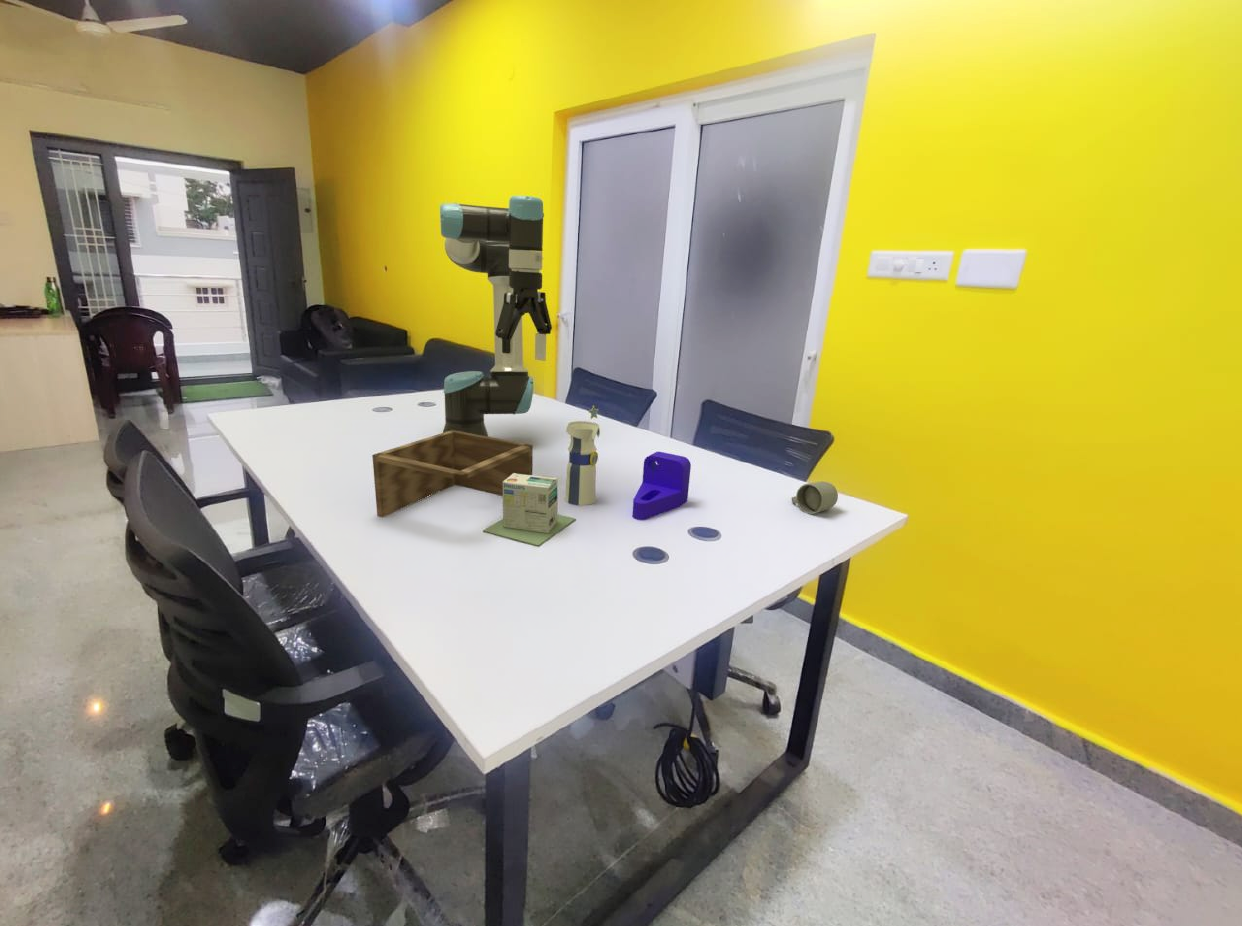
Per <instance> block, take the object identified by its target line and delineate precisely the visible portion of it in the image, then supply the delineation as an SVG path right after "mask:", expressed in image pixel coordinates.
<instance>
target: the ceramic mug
mask: <svg viewBox="0 0 1242 926" xmlns="http://www.w3.org/2000/svg"><path fill="white" fill-rule="evenodd" d="M838 499H839V494H838V491H837V489H836V487H835V485H833V484H832V483H830V482H828V481H815V482H811V483H804V484H803V485H801V486H800V487H798V489H797V491H796V496H792V497H791V504H797V506H798V508H799V509H800V510H801V511H802V512H803V513H805V514H808V515H815V514H817V513H821V512H824V511H827V510H829V509H831V508H833V507H834V506H835V505H836V504H837V503H838Z"/></svg>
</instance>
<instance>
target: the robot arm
mask: <svg viewBox="0 0 1242 926" xmlns="http://www.w3.org/2000/svg"><path fill="white" fill-rule="evenodd" d="M439 216H440V217H439V218H440V219H439V220H440V234H441V237H443V238H445V240H444V250H445V254H446V256H447V257H448V259H449V260H450V261H451V262H452V263H454V265H456V266H458V267H459V268H462V269H464V270H467V271H469V272H473V273H480V274H482V273H483V274H487V281H488V282H489V283H490V284H491V285H492V294H493V295H492V296H493V298H492V300H493V301H492V302H493V303H492V304H493V334H494V336H493V337H494V338H493V339H494V343H493V344H494V366H493V367H492V368H491V369H490V370H489V376H485V375H484V372H482V371H480V370H477V371H476V370H470V371H460V372H456V373H452V374H449V375H447V376H446V377H445V378H444V381H443V382H444V383H443V384H444V385H443V386H444V387H443V394H444V419H445V423H444V428H443V430H442V433H444V432H447V431H451V430H456V431H461V432H466V433H472V434H477V435H482V436H487V437H489V433H488V430H487V428H486V424H485V415H519V414H521V415H523V414H526V413H528V411H529V410H530V408H531V405H532V401H533V395H534V379H533V377H532V376H529V370H528V369H527V368H526V367H525V366H524V354H523V353H524V352H523V351H524V349H523V340H524V339H523V316H524V315H525V314H528V315H529V316H530V319H531V321H532V323H533V325H534V327H535V329H536V331H537V332H536V333H535V334H534V337H535V338H534V339H535V340H534V360H536V361H541V362H546V361H547V358H546V357H547V335H550V334H551V332H552V329H553V326H552V321H551V317H550V314H549V313H550V312H549V309H548V305H547V297H546V294H547V293H546V292H542V291H541V292H540V291H538V290H542V288H543V274H542V272H540V271H542V270H543V260H544V257H543V245H544V244H543V241H544V240H543V238H544V237H543V236H544V218H545V213H544V202H543V200H542V199H541V198H540V197H536V196H528V195H513V196H511V197H510V198H509V201H508V207H498V206H497V207H495V206H485V205H484V206H483V205H482V206H481V205H473V204H465V203H464V204H463V203H462V204H461V203H457V202H454V203H453V202H452V203H450V202H449V203H447V202H445V203H444V202H443V203H442V204H440V206H439Z"/></svg>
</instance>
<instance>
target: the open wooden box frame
mask: <svg viewBox="0 0 1242 926" xmlns="http://www.w3.org/2000/svg"><path fill="white" fill-rule="evenodd" d="M533 453H534V452H533V444H528V443H524V442H518V441H512V440H506V439H503V438H497V437H492V436H488V437H487V436H482V435H477V434H472V433H466V432H461V431H456V430H451V431H447V432H444V433H443V432H442V433H438V434H435V435H432V436H429V437H426V438H423V439H419V440H416V441H413V442H412V441H411V442H410V443H407V444H406V443H405V444H403V445H399V446H398V447H397V446H396V447H394V448H390V449H388V450H384V451H381V452H378V453H374V454H372V468H373V478H374V493H375V506H376V513H377V514H376V516H378V517H381V518H383V517H385V516H388V515H391V514H392V513H394V512H397V511H399V510H401V508H402V509H403V507H404V508H406V507H408V506H410V505H409V504H411V503H413V502H415V503H417V502H419V501H418V500H420V499H422V498H424V499H426V498H425V497H427V496H429V495H431V494H433V495H435V494H434V493H436V492H438V491H440V492H443V491H446V490H447V489H449V488H452V487H453V486H459V487H463V488H467V489H470V490H471V489H472V490H476V491H478V492H483V491H484V492H485V493H488V494H492V495H497V496H501V497H503V489H502V487H503V481H504V480H506V479H507V478H508V477H509V476H511V475H512V474H513V473H517V474H524V475H533V464H534V463H533V458H534V457H533ZM438 493H439V492H438ZM436 494H437V493H436ZM431 496H432V495H431ZM429 497H430V496H429ZM427 498H428V497H427ZM422 500H423V499H422ZM416 501H417V502H416ZM420 501H421V500H420ZM413 504H414V503H413ZM407 505H408V506H407ZM411 505H412V504H411ZM405 506H406V507H405Z"/></svg>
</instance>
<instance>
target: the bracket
mask: <svg viewBox="0 0 1242 926" xmlns="http://www.w3.org/2000/svg"><path fill="white" fill-rule="evenodd" d="M691 467H692V464H691V461H690V460H689V459H688V457H685V456H682V455H677V454H672V453H669V452H664V451H656V452H653V453H652V454H650V455H648V456H646V457H645V458H644V460H643V470H642V483H641V484H640V486H639V488H638V490H637V492H636V494H635V496H634V498H633V502H632V503H633V504H632V513H631V515H632V519H634V520H637V521H644V520H648V519H651V518H654V517H656V516H659V515H662V514H665V513H667V512H670V511H673V510H676V509H678V508H681V507H682V506H684V505H685V504H686V503H687V502H688V497H689V487H690V478H691V469H692V468H691Z"/></svg>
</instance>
